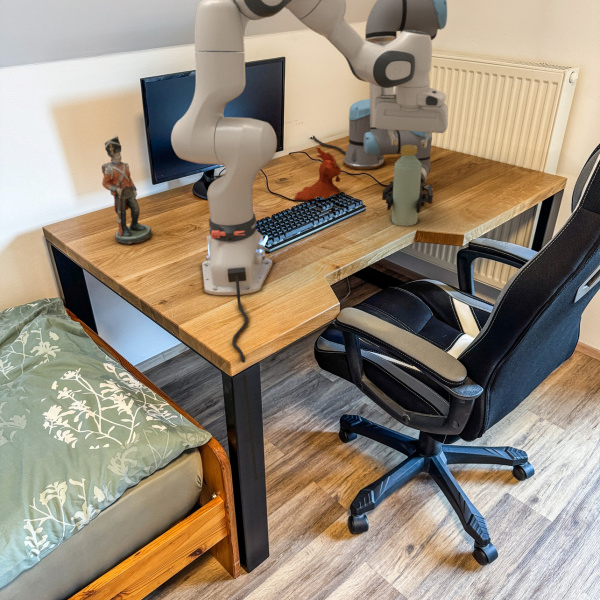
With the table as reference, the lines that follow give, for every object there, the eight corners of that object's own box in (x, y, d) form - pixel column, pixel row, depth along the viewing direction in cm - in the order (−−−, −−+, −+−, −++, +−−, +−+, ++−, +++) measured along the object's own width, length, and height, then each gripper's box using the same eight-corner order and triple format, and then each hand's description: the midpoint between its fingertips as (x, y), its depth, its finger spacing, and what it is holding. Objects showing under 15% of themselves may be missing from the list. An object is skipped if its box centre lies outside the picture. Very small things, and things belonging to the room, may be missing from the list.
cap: (411, 149, 163) (411, 143, 162) (420, 154, 159) (420, 147, 158) (397, 152, 161) (398, 146, 161) (406, 156, 158) (406, 150, 157)
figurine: (142, 245, 163) (121, 143, 147) (109, 243, 165) (84, 142, 149) (157, 230, 172) (139, 131, 156) (125, 228, 174) (104, 131, 158)
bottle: (408, 213, 176) (413, 142, 164) (422, 222, 170) (428, 149, 158) (386, 218, 173) (390, 146, 161) (400, 227, 167) (405, 154, 155)
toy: (349, 195, 190) (350, 151, 182) (303, 205, 184) (301, 160, 176) (331, 183, 200) (331, 141, 192) (287, 193, 194) (284, 150, 186)
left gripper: (371, 96, 153) (370, 146, 161) (448, 100, 146) (442, 152, 154) (377, 91, 158) (376, 140, 165) (451, 94, 151) (446, 145, 159)
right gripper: (445, 193, 182) (438, 222, 163) (381, 188, 187) (368, 216, 169) (447, 171, 178) (440, 197, 159) (382, 167, 183) (368, 192, 165)
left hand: (408, 146), depth 160 cm, fingers open, 7 cm apart
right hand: (403, 207), depth 164 cm, fingers closed on bottle, 8 cm apart
